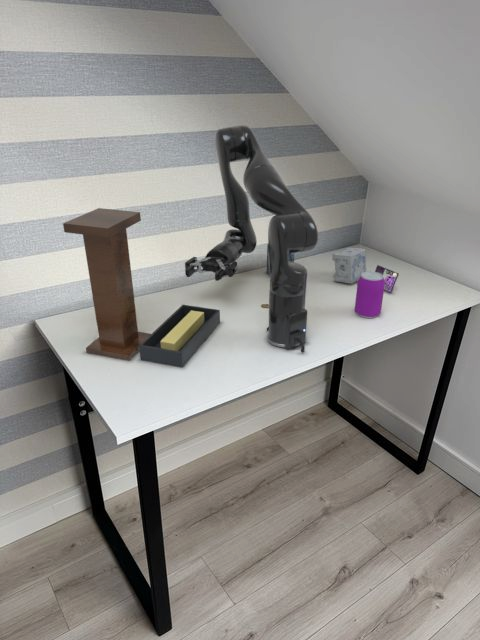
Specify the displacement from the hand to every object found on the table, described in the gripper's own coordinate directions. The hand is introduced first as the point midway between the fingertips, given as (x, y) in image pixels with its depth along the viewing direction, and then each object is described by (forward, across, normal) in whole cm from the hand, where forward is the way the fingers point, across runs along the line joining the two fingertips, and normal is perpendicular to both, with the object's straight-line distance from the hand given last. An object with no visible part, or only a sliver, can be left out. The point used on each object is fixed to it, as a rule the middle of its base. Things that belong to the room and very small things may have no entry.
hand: (201, 275), depth 140 cm
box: (-41, +12, +13) cm, 45 cm away
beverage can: (-18, +44, +13) cm, 50 cm away
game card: (-40, +48, +13) cm, 64 cm away
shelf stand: (+22, -14, +13) cm, 29 cm away
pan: (+14, 0, +13) cm, 19 cm away
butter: (+13, 0, +12) cm, 18 cm away
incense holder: (-43, +35, +13) cm, 57 cm away
